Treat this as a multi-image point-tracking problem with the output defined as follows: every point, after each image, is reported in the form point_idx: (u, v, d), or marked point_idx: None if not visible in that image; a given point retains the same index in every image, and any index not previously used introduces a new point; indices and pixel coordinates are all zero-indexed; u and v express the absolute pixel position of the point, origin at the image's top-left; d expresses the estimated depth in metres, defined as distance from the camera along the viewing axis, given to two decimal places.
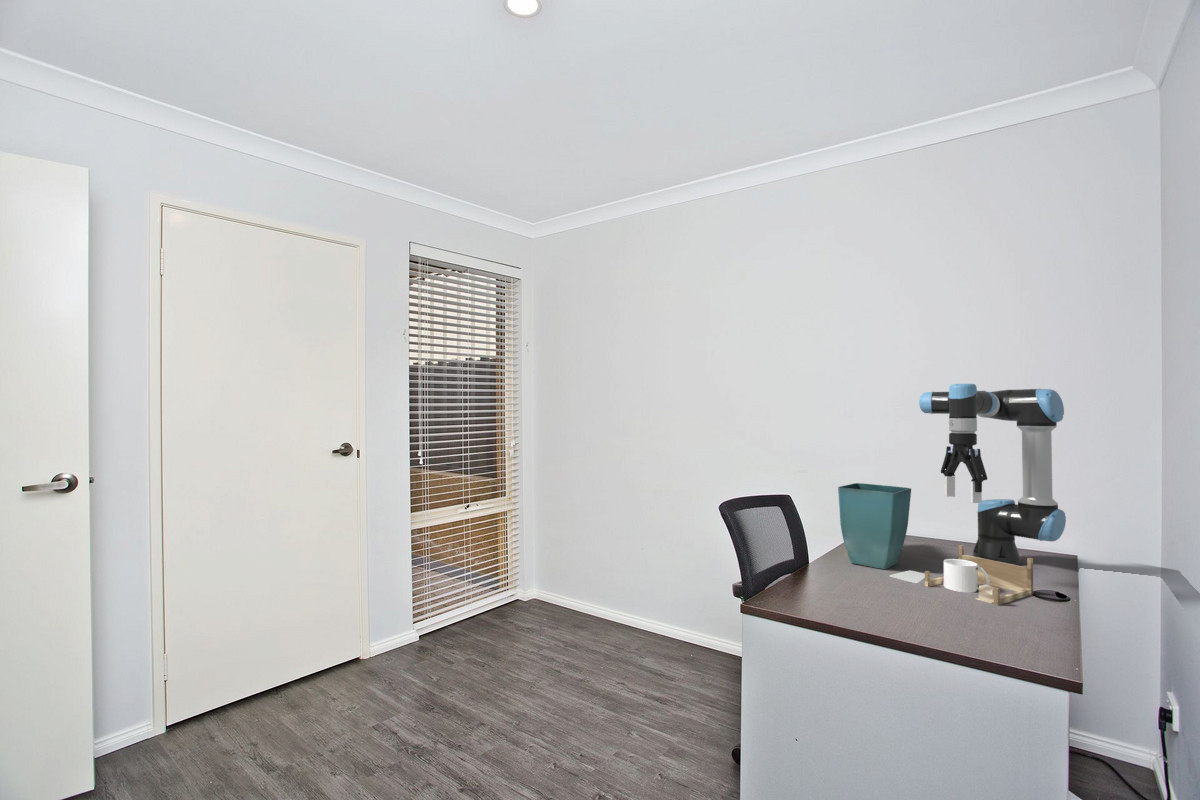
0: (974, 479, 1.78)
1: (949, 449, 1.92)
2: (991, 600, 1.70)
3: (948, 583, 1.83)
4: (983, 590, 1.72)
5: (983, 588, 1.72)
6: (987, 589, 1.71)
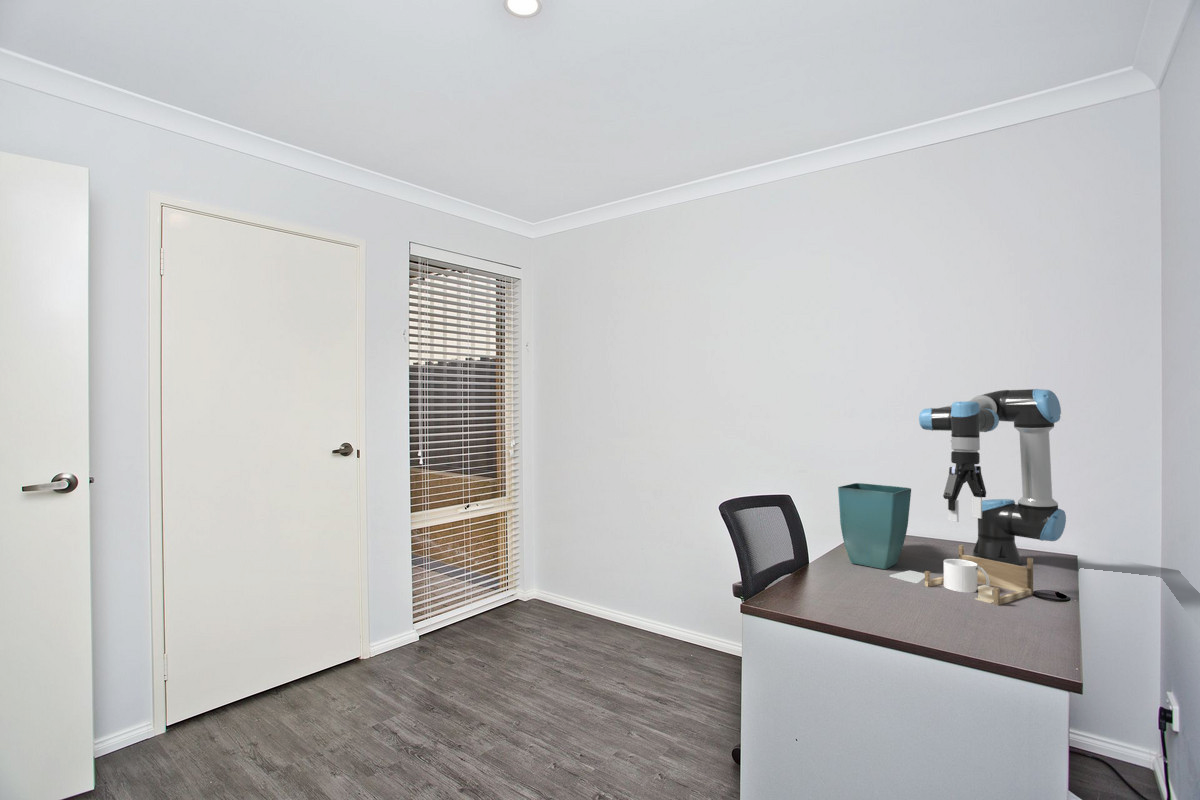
0: None
1: None
2: (991, 600, 1.70)
3: (948, 583, 1.83)
4: (982, 590, 1.72)
5: (982, 588, 1.72)
6: (986, 589, 1.71)
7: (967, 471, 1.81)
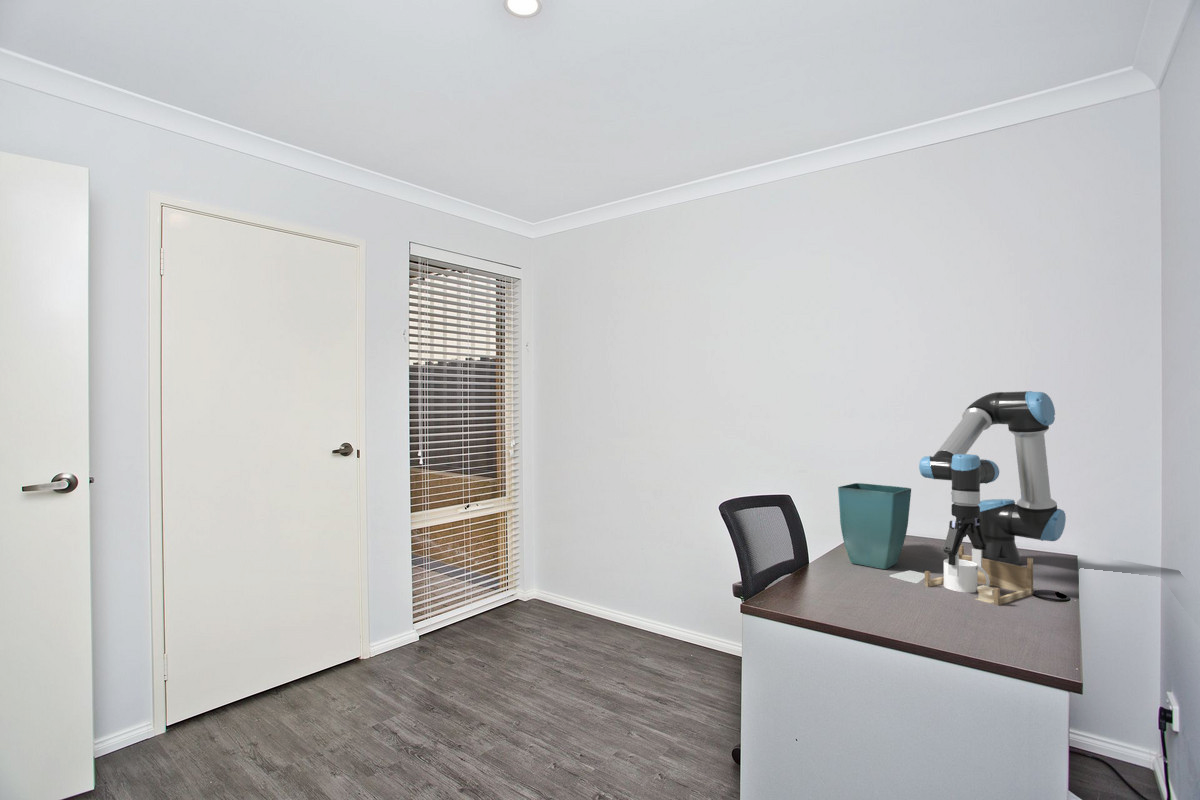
0: None
1: None
2: (991, 600, 1.70)
3: (948, 583, 1.83)
4: (982, 591, 1.72)
5: (982, 589, 1.72)
6: (986, 590, 1.71)
7: (967, 525, 1.81)
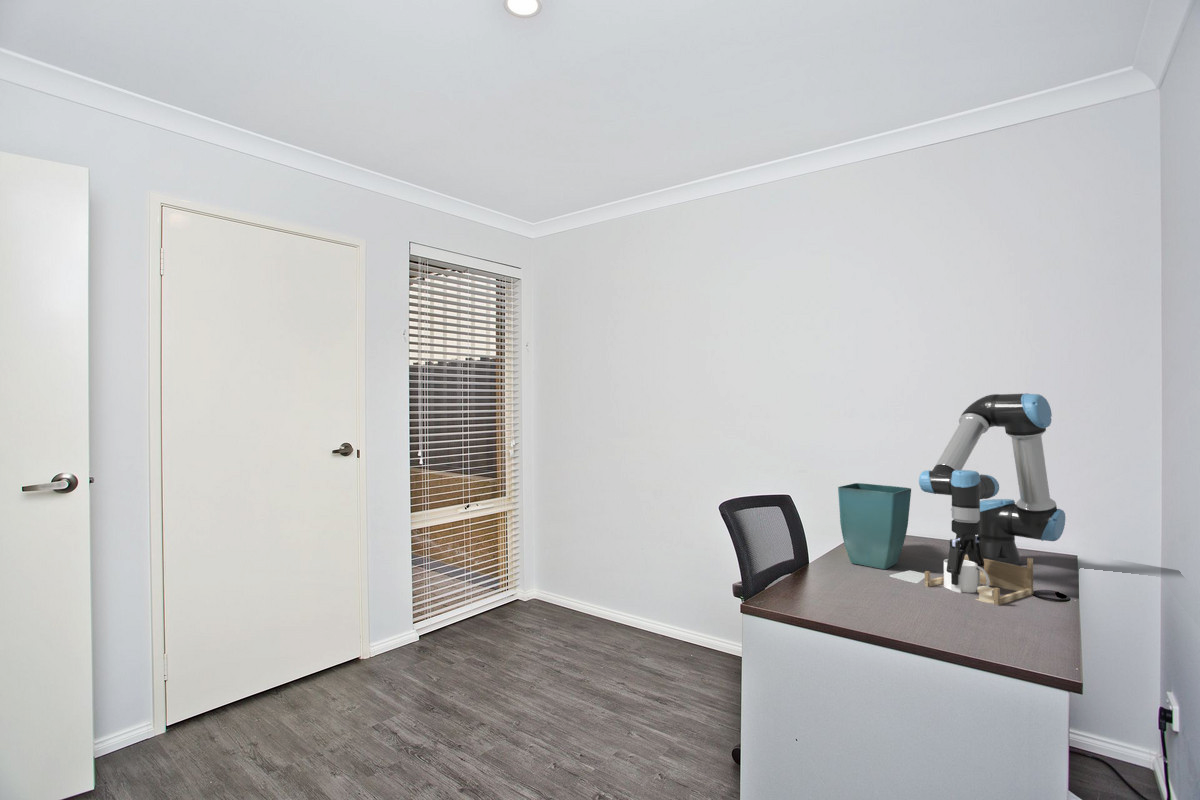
0: None
1: None
2: (992, 601, 1.70)
3: (948, 583, 1.83)
4: (982, 591, 1.72)
5: (982, 589, 1.72)
6: (986, 590, 1.71)
7: (967, 542, 1.81)
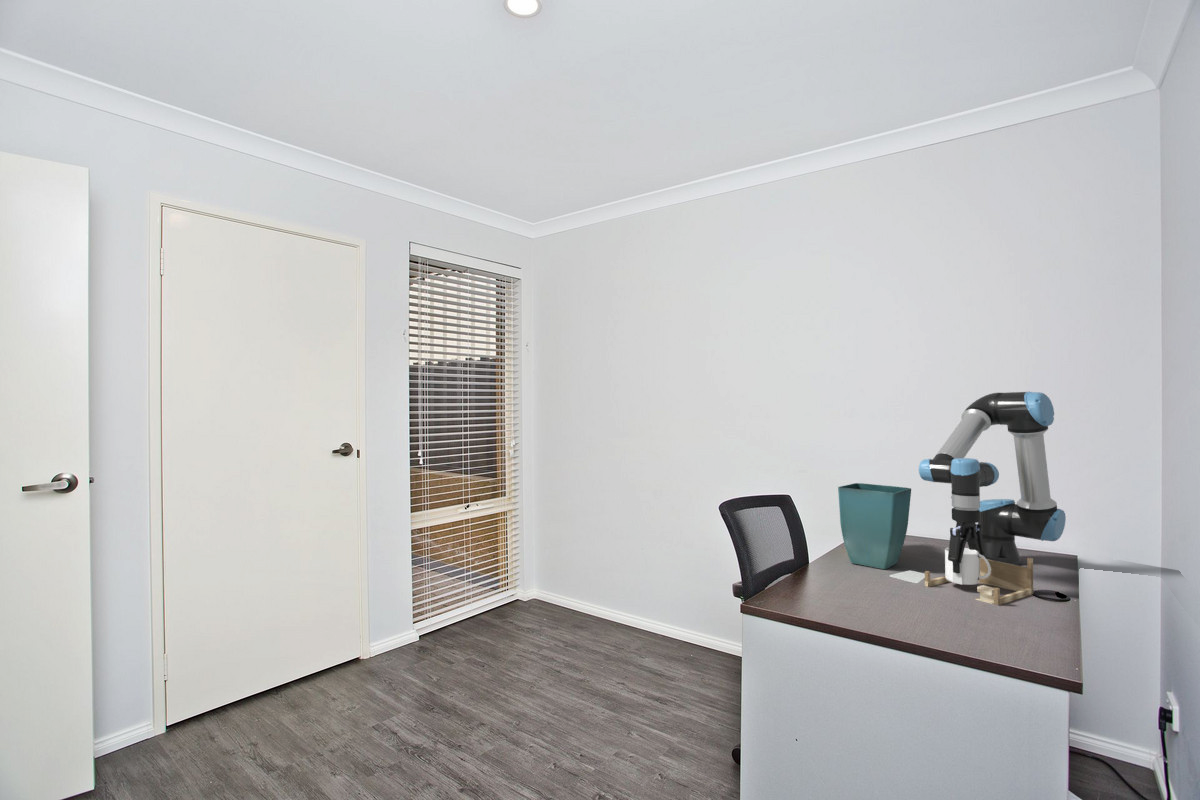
0: (950, 559, 1.81)
1: None
2: (992, 601, 1.69)
3: (950, 571, 1.83)
4: (982, 591, 1.72)
5: (982, 589, 1.72)
6: (986, 590, 1.71)
7: (968, 530, 1.81)
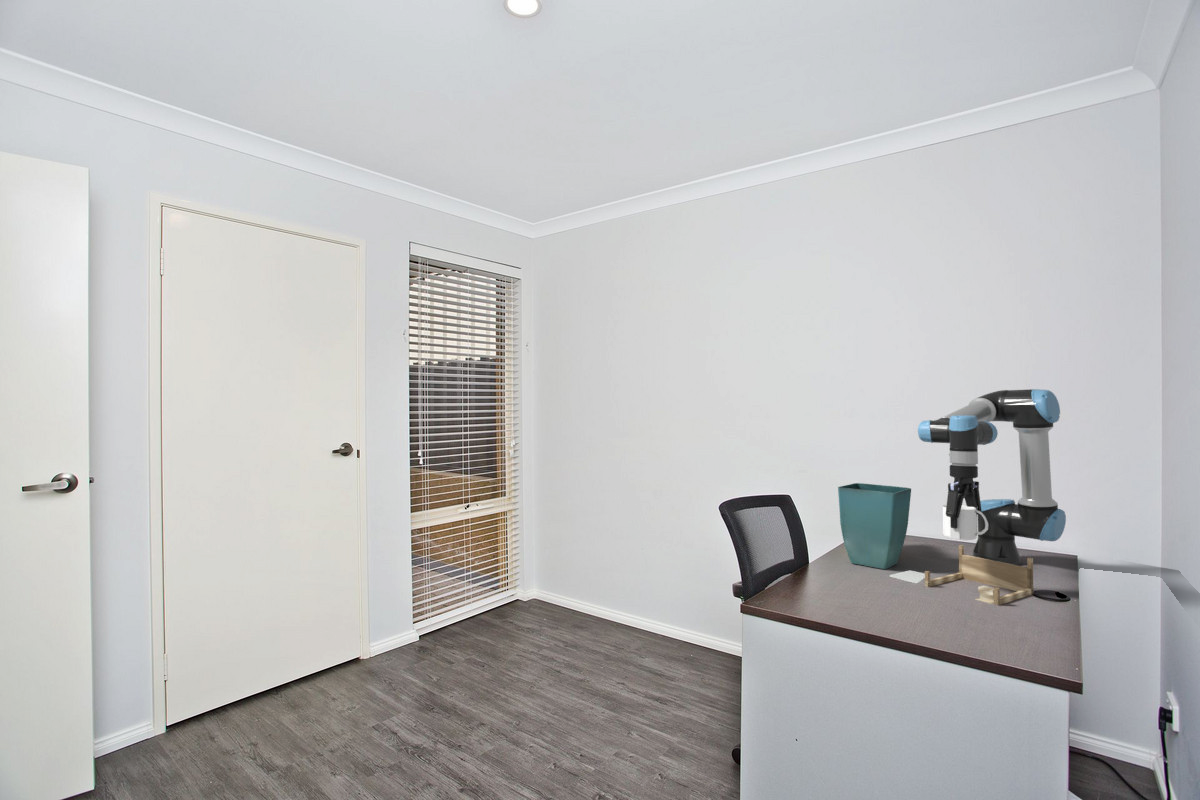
0: (948, 515, 1.82)
1: None
2: (992, 601, 1.70)
3: (947, 527, 1.84)
4: (983, 591, 1.72)
5: (983, 589, 1.72)
6: (987, 590, 1.71)
7: (965, 485, 1.82)
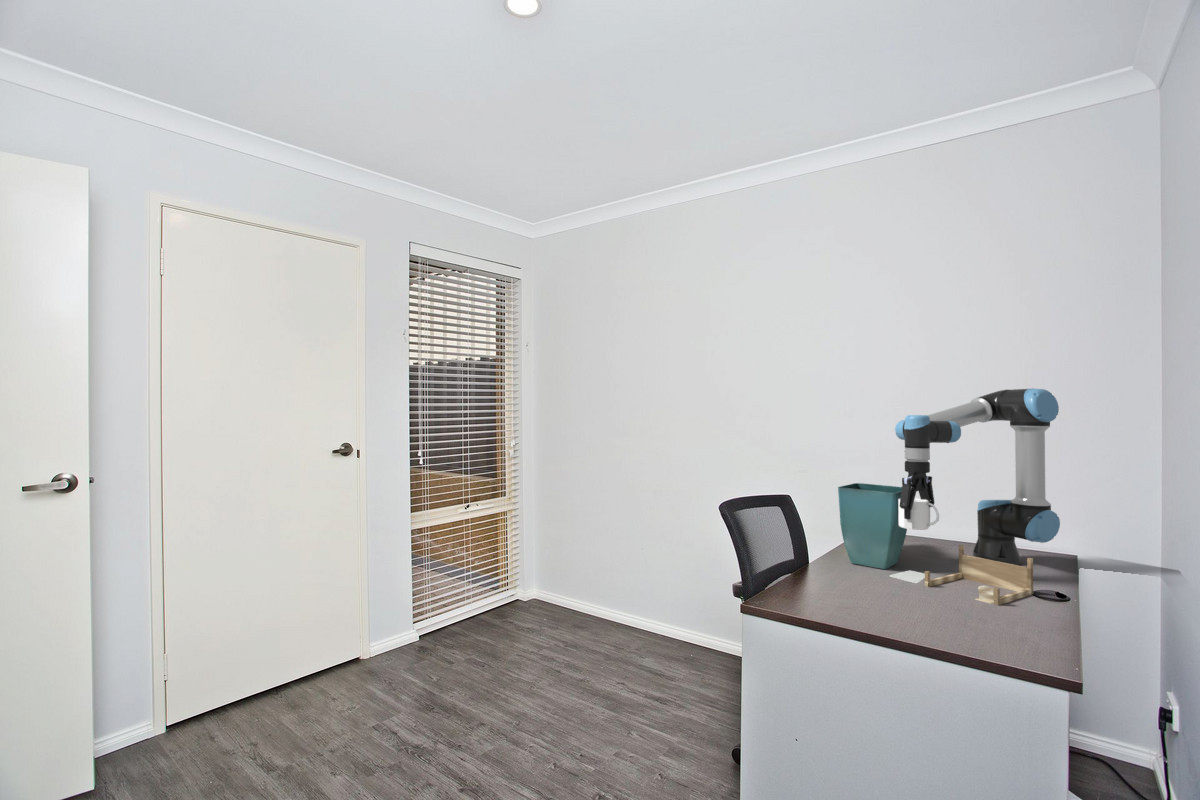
0: (902, 507, 1.97)
1: None
2: (992, 601, 1.70)
3: (902, 518, 1.99)
4: (983, 591, 1.72)
5: (983, 589, 1.72)
6: (987, 590, 1.71)
7: (918, 480, 1.97)
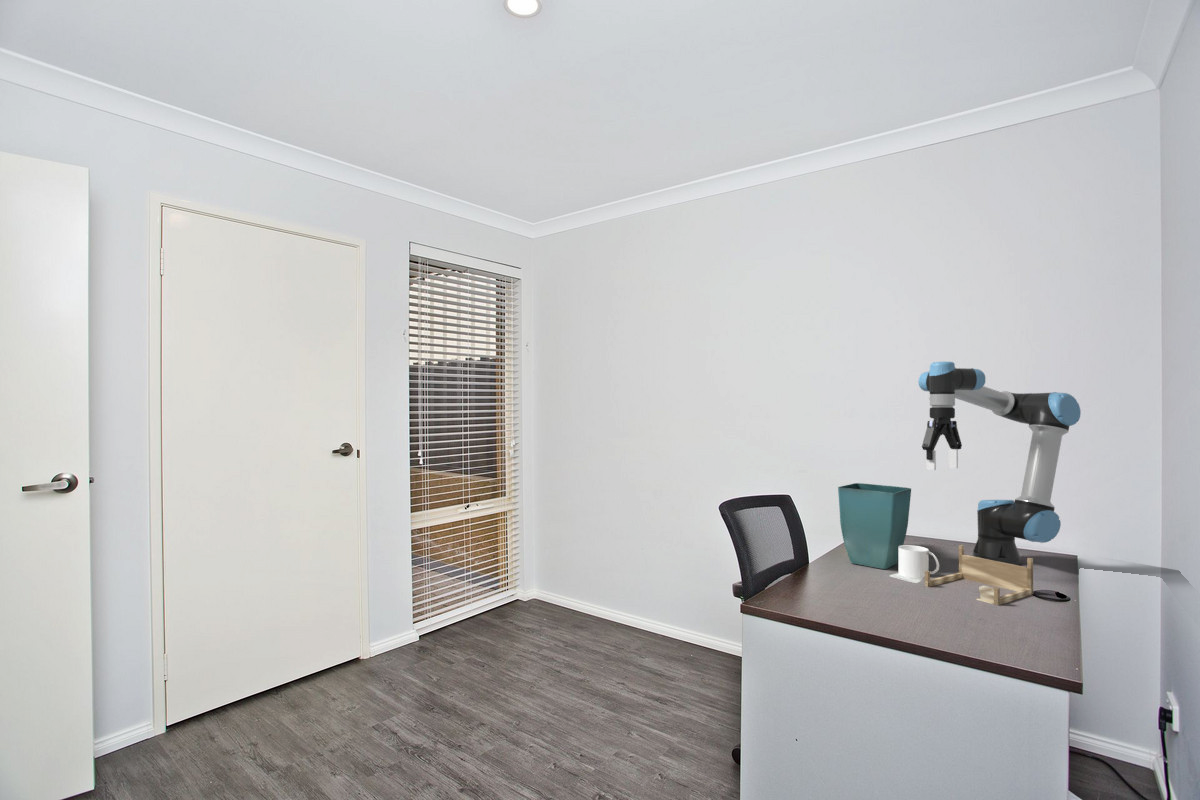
0: (924, 448, 1.99)
1: None
2: (993, 601, 1.70)
3: (902, 567, 1.99)
4: (984, 591, 1.71)
5: (984, 589, 1.71)
6: (988, 590, 1.71)
7: (943, 424, 2.00)
